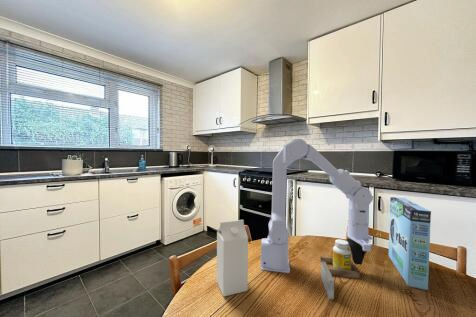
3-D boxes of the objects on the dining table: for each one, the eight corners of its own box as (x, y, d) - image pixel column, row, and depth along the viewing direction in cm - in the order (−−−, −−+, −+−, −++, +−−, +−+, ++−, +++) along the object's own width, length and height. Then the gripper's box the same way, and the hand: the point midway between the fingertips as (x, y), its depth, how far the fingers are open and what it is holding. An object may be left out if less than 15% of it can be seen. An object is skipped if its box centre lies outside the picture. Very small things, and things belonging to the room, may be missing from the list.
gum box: (388, 256, 76) (389, 196, 76) (404, 259, 74) (406, 198, 74) (407, 286, 59) (409, 208, 58) (430, 291, 57) (432, 210, 56)
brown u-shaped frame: (325, 274, 64) (325, 268, 64) (320, 261, 72) (320, 256, 72) (359, 279, 62) (359, 272, 62) (350, 265, 70) (350, 259, 70)
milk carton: (216, 281, 60) (217, 218, 60) (238, 276, 63) (239, 216, 62) (223, 297, 53) (223, 226, 53) (247, 291, 56) (248, 223, 56)
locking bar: (328, 299, 53) (329, 280, 53) (321, 277, 62) (321, 261, 62) (333, 299, 53) (333, 280, 53) (325, 278, 62) (325, 262, 62)
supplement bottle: (338, 264, 71) (338, 237, 70) (353, 271, 66) (354, 242, 66) (329, 268, 68) (329, 240, 67) (345, 276, 63) (345, 246, 63)
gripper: (383, 231, 58) (382, 277, 58) (362, 216, 72) (361, 254, 72) (356, 229, 59) (355, 274, 59) (341, 215, 73) (340, 251, 74)
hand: (357, 263), depth 66 cm, fingers closed
